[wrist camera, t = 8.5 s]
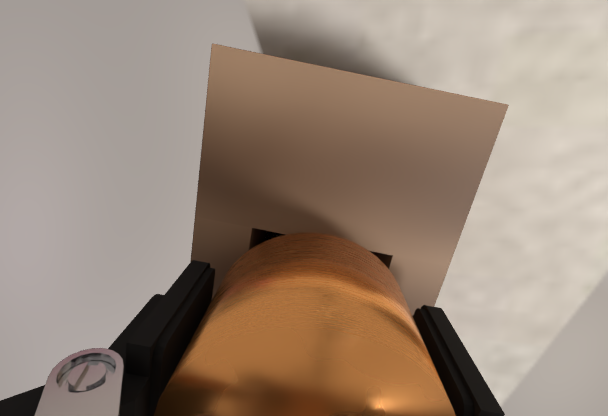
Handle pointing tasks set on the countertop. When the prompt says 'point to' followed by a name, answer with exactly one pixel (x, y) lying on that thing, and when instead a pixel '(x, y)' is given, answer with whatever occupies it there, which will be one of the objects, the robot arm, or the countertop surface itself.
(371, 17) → the countertop surface
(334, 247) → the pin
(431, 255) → the block
